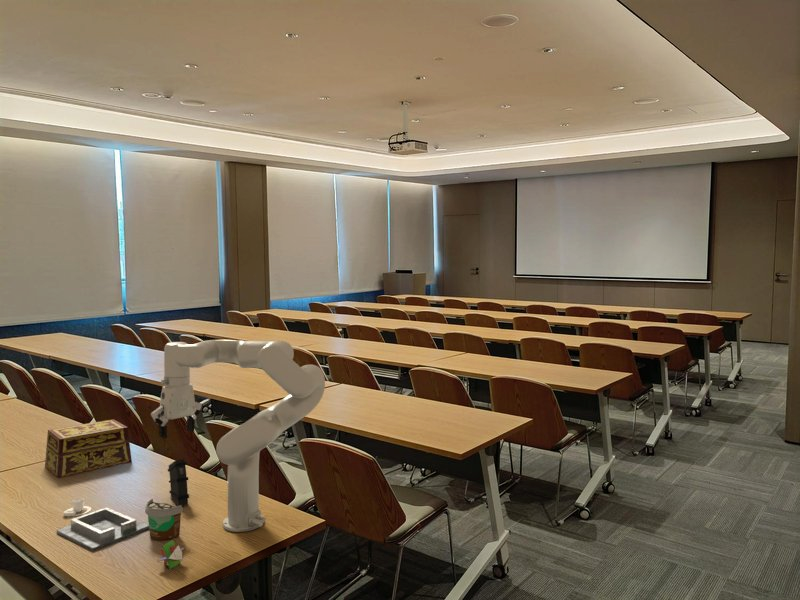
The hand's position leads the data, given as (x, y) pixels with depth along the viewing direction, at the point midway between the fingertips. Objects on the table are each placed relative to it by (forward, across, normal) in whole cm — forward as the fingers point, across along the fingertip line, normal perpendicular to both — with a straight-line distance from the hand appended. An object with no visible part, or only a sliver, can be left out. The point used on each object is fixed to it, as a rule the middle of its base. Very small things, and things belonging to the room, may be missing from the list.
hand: (177, 434), depth 190 cm
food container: (+28, -10, -7) cm, 31 cm away
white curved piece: (+29, -19, +33) cm, 48 cm away
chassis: (+28, -18, +10) cm, 35 cm away
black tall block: (+28, +9, +14) cm, 33 cm away
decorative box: (+29, +8, +75) cm, 81 cm away
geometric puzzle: (+28, -17, -25) cm, 41 cm away
